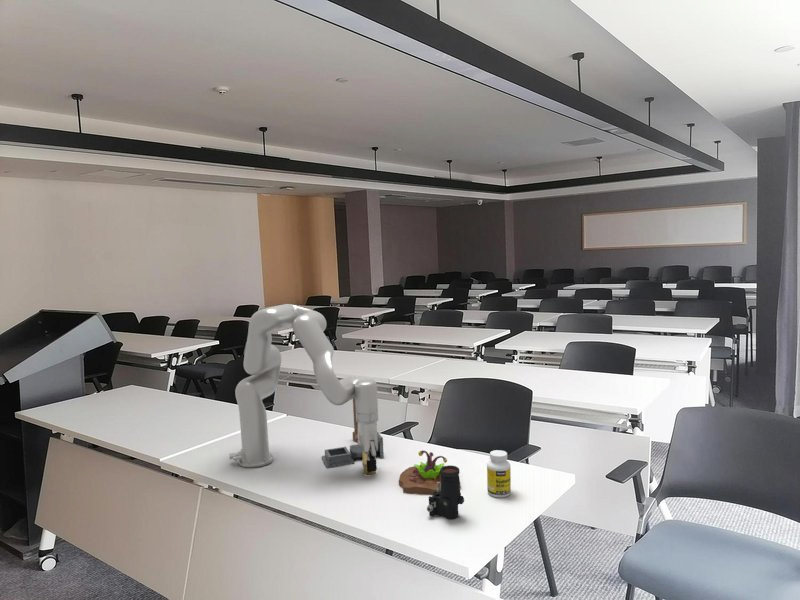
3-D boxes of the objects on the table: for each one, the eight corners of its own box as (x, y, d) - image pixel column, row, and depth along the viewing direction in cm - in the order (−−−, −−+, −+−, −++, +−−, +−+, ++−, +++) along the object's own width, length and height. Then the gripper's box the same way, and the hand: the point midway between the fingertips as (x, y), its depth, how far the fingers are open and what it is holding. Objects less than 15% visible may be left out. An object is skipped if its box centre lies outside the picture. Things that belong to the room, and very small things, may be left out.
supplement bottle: (495, 500, 172) (494, 458, 171) (483, 491, 179) (482, 451, 178) (515, 495, 175) (514, 454, 174) (502, 486, 182) (501, 447, 180)
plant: (400, 471, 197) (398, 440, 196) (457, 470, 197) (456, 438, 196) (398, 497, 178) (396, 462, 176) (461, 496, 177) (460, 460, 176)
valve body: (326, 468, 202) (325, 445, 201) (321, 458, 212) (320, 436, 211) (384, 459, 208) (383, 437, 208) (377, 450, 218) (376, 429, 217)
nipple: (364, 476, 194) (363, 453, 193) (361, 471, 198) (360, 449, 197) (378, 474, 195) (377, 451, 194) (374, 469, 200) (373, 447, 199)
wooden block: (371, 446, 222) (368, 401, 220) (352, 440, 229) (350, 396, 227) (377, 444, 224) (375, 399, 223) (359, 438, 232) (357, 394, 230)
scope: (436, 460, 169) (468, 465, 164) (437, 505, 170) (469, 512, 166) (424, 471, 162) (457, 476, 157) (426, 518, 163) (458, 524, 159)
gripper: (350, 410, 201) (353, 461, 203) (362, 425, 185) (365, 479, 187) (371, 408, 204) (373, 457, 206) (384, 421, 188) (387, 475, 189)
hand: (369, 467), depth 196 cm, fingers closed on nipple, 4 cm apart
